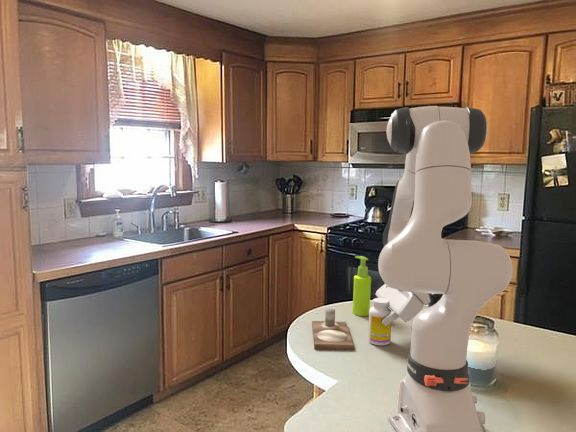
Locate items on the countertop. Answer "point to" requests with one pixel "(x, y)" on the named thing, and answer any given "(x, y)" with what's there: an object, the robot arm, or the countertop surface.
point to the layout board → (331, 333)
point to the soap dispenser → (361, 289)
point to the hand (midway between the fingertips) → (378, 318)
